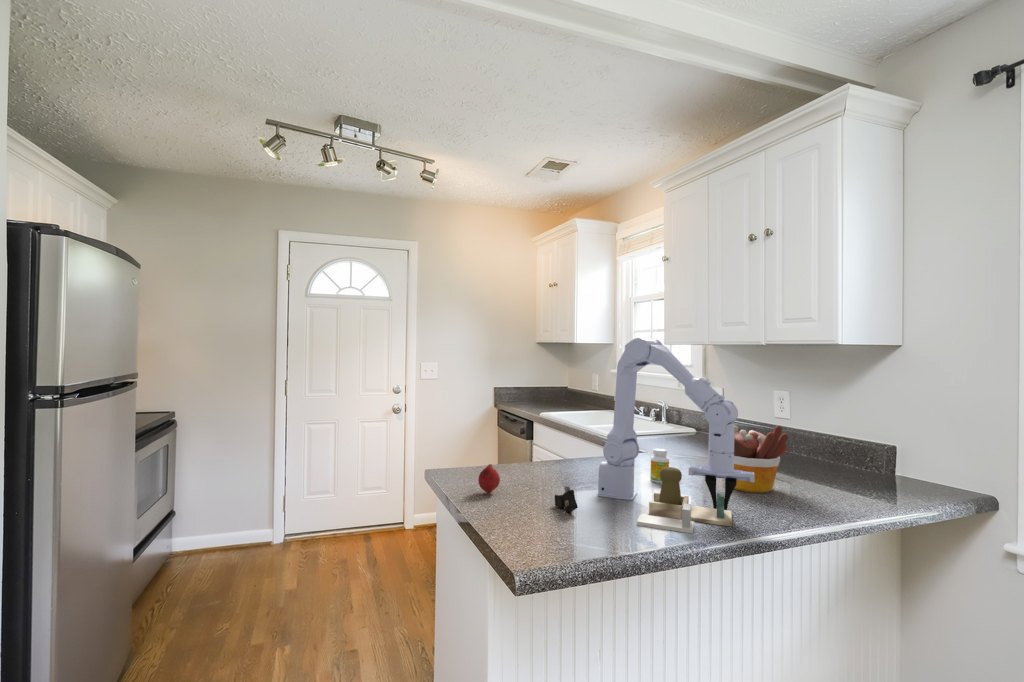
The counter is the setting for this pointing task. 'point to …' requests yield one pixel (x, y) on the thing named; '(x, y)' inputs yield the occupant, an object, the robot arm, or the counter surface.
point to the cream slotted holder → (693, 510)
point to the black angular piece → (566, 500)
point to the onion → (489, 479)
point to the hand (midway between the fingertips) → (720, 508)
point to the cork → (670, 486)
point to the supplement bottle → (658, 464)
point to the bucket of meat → (758, 457)
